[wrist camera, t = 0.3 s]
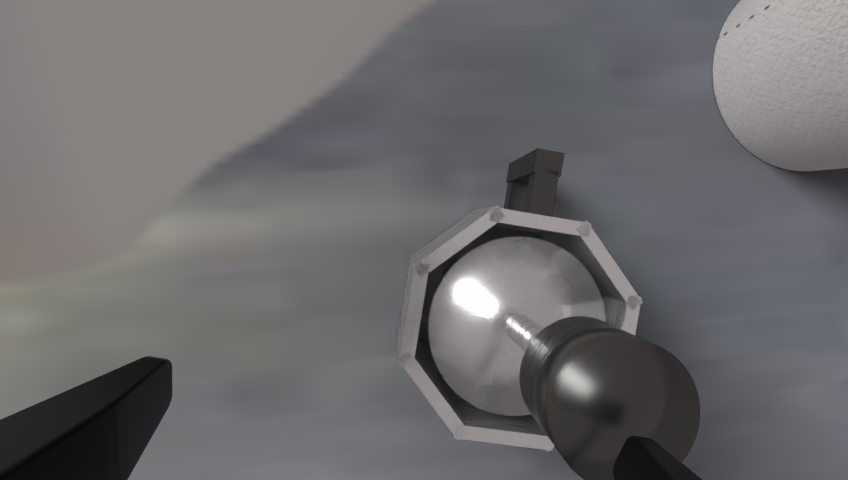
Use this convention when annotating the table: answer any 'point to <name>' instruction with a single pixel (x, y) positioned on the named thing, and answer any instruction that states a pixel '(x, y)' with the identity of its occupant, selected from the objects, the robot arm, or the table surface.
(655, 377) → the silver black coffee tamper
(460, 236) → the octagonal open box
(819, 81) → the toilet paper roll
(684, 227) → the table surface
